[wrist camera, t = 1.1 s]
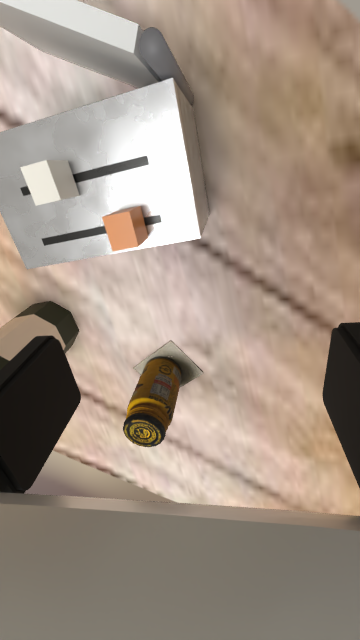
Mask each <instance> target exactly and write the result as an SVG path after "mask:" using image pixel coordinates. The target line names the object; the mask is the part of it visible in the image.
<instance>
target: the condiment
mask: <svg viewBox="0 0 360 640" xmlns="http://www.w3.org/2000/svg"><path fill="white" fill-rule="evenodd" d="M168 356H170V357H168ZM171 356H172V357H171ZM133 369H135V370H136V371H137V372H138V373H139V374H140V375H141V377H140V379H139V381H138V384H137V386H136V388H135V391H134V393H133V395H132V397H131V400H130V402H129V405H128V408H127V416H126V420H125V422H124V427H123V431H124V434H125V435H126V437H127V438H128V439H129V440H130V441H131V442H133V443H135V444H137V445H139V446H143V447H152V446H157V445H158V444H160V443H161V442H162V441H163V440H164V437H165V434H166V430H167V429H168V426H169V425H170V423H171V421H172V418H173V413H174V409H175V405H176V400H177V396H178V392H179V388H180V387H181V386H183V385H185V384H187V383H188V382H190V381H192V380H193V379H195V378H197V377H199V376H200V375H202V374H203V372H202V371H201V370H200V369H199V368H198V367H197V366H196V365H195V364H194V363H193V362H192V361H191V360H190V359H189V358H188V357H187V356H186V355H185V353H183V352H182V351H181V350H180V349H179V348H178V347H177V346H176V345H175V344H174V343H173V342H172V341H170V342H168V343H167V344H166V345H164V346H163V347H162V348H160V349H159V350H157V351H156V352H155V353H153V354H152V355H150V356H149V357H148V358H146V359H145V360H143V361H142V362H141V363H139V364H138V365H137V366H135V367H134V368H133Z"/></svg>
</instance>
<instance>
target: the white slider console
mask: <svg viewBox="0 0 360 640" xmlns="http://www.w3.org/2000/svg"><path fill="white" fill-rule="evenodd" d="M45 160H68V163H69V166H70V169H71V172H72V175H73V178H74V180H75V183H76V186H77V189H78V192H79V195H80V196H76V197H72V198H68V199H64V200H60V201H55V202H51V203H46V204H41V205H37V206H36V205H35V203H34V200H33V198H32V195H31V193H30V190H29V188H28V186H27V183H26V181H25V178H24V176H23V173H22V171H21V168H20V167H23V166H27V165H30V164H34V163H38V162H41V161H45ZM138 206H141V210H142V214H143V218H144V222H145V226H146V230H147V234H148V239H147V240H146V241H144V242H143V243H142V244H141V245H140V246H139V247H135V248H129V249H124V250H118V251H112V248H111V244H110V241H109V238H108V235H107V232H106V229H105V225H104V222H103V219H102V217H103V216H106V215H108V214H110V213H113V212H115V211H119V210H124V209H128V208H133V207H138ZM0 212H1V215H2V217H3V219H4V221H5V223H6V225H7V227H8V230H9V232H10V234H11V236H12V238H13V240H14V243H15V245H16V247H17V249H18V251H19V253H20V255H21V258H22V260H23V262H24V264H25V266H26V268H27V269H31V268H36V267H42V266H47V265H53V264H59V263H64V262H70V261H75V260H81V259H87V258H92V257H98V256H103V255H109V254H115V253H120V252H126V251H131V250H137V249H143V248H148V247H154V246H159V245H165V244H171V243H176V242H182V241H188V240H193V239H199V238H201V235H202V233H203V230H204V228H205V225H206V222H207V220H208V217H209V215H210V214H209V207H208V200H207V194H206V187H205V181H204V174H203V167H202V161H201V154H200V148H199V141H198V135H197V128H196V121H195V115H194V109H193V108H192V106H191V105H190V103H189V102H188V100H187V99H186V97H185V96H184V94H183V93H182V91H181V90H180V88H179V87H178V85H177V83H176V82H175V80H174V79H173V78H171V79H167V80H164V81H161V82H158V83H155V84H152V85H148V86H145V87H142V88H139V89H136V90H133V91H129V92H126V93H123V94H120V95H117V96H114V97H111V98H107V99H104V100H101V101H98V102H95V103H92V104H88V105H85V106H82V107H79V108H76V109H73V110H69V111H66V112H63V113H60V114H57V115H54V116H50V117H47V118H44V119H41V120H38V121H35V122H31V123H28V124H25V125H22V126H19V127H16V128H12V129H9V130H6V131H3V132H0Z"/></svg>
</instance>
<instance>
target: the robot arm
mask: <svg viewBox="0 0 360 640" xmlns="http://www.w3.org/2000/svg"><path fill="white" fill-rule="evenodd" d="M80 400H81V395H80V392H79V389H78V386H77V384H76V381H75V379H74V376H73V374H72V371H71V368H70V366H69V363H68V361H67V358H66V355H65V353H64V350H63V348H62V345H61V343H60V341H59V340H58V339H56V338H55V337H54V336H52V335H50V336H36V337H34V338H33V339H32V340H31V341H30V342H29V343H28V344H27V345H26V346H25V347H24V348H23V349H22V350H21V351H20V352H19V353H18V354H17V355H15V356H14V357H13V358H12V359H11V360H10V361H9V362H8V363H7V364H6V365H5V366H4V367H3V368H2V369H1V370H0V640H360V516H351V515H340V514H328V513H316V512H304V511H291V510H276V509H261V508H247V507H232V506H217V505H202V504H187V503H171V502H155V501H139V500H123V499H107V498H91V497H74V496H57V495H56V496H55V495H38V494H24V492H25V491H26V490H28V489H29V488H30V487H31V486H32V484H33V483H34V481H35V479H36V478H37V476H38V474H39V473H40V471H41V469H42V467H43V466H44V463H45V462H46V460H47V459H48V457H49V455H50V453H51V452H52V450H53V448H54V447H55V445H56V443H57V441H58V440H59V438H60V436H61V434H62V433H63V431H64V429H65V428H66V426H67V424H68V422H69V421H70V419H71V417H72V415H73V414H74V412H75V410H76V409H77V407H78V405H79V403H80ZM323 401H324V405H325V407H326V409H327V412H328V414H329V417H330V419H331V421H332V424H333V426H334V428H335V431H336V433H337V436H338V438H339V440H340V443H341V445H342V447H343V450H344V452H345V455H346V457H347V459H348V462H349V464H350V467H351V469H352V471H353V474H354V476H355V478H356V481H357V483H358V486H359V488H360V322H356V323H341V324H340V325H339V326H338V328H334V329H333V330H332V335H331V342H330V348H329V355H328V361H327V368H326V374H325V381H324V388H323Z"/></svg>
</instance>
